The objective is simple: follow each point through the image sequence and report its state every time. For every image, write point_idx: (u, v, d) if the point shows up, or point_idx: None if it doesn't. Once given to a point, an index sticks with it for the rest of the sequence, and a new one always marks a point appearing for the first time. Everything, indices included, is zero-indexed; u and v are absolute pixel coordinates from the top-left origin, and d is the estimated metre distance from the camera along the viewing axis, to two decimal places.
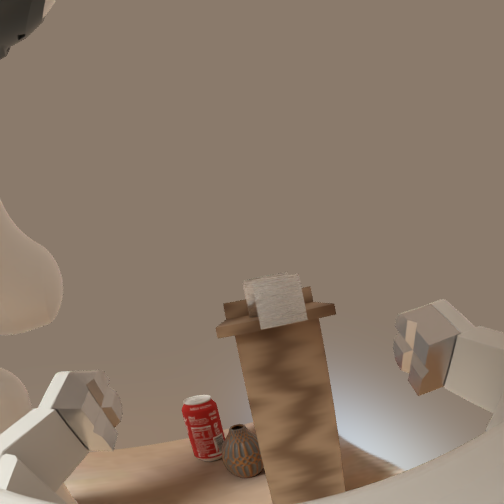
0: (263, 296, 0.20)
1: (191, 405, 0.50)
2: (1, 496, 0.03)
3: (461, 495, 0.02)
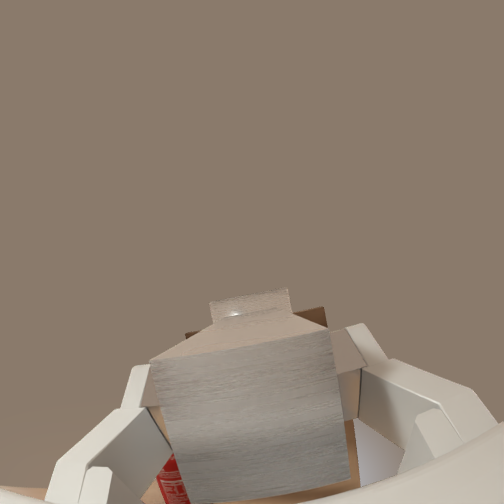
0: (192, 411, 0.05)
1: None
2: (1, 496, 0.03)
3: (461, 495, 0.02)
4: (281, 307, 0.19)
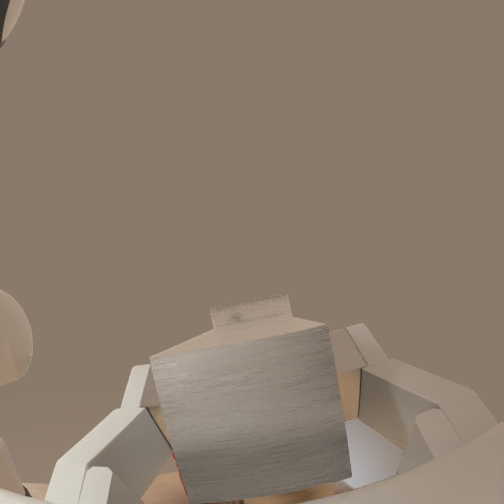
0: (192, 408, 0.05)
1: None
2: (1, 496, 0.03)
3: (461, 495, 0.02)
4: (281, 313, 0.19)
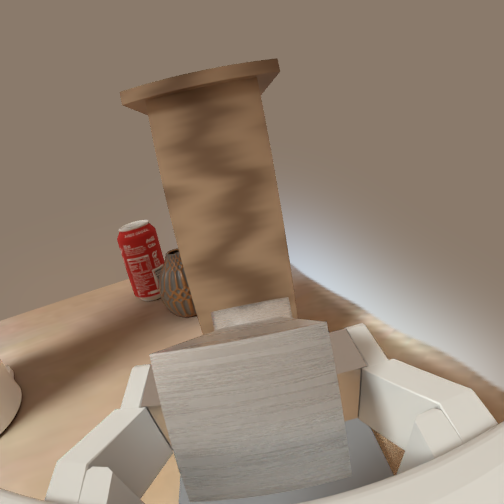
0: (192, 405, 0.05)
1: (126, 231, 0.46)
2: (1, 496, 0.03)
3: (461, 495, 0.02)
4: (282, 316, 0.19)
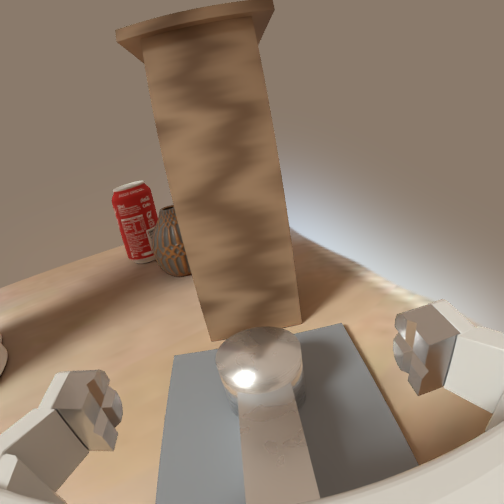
0: None
1: (120, 191, 0.44)
2: (1, 496, 0.03)
3: (461, 495, 0.02)
4: (295, 378, 0.17)
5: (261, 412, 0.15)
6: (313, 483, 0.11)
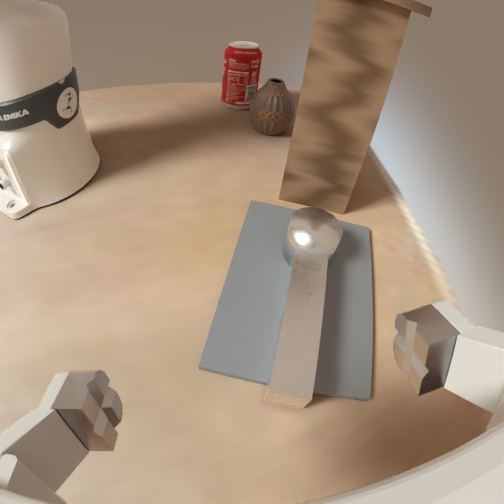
0: (274, 397, 0.21)
1: (236, 48, 0.45)
2: (1, 496, 0.03)
3: (461, 495, 0.02)
4: (331, 251, 0.29)
5: (306, 263, 0.28)
6: (321, 315, 0.24)
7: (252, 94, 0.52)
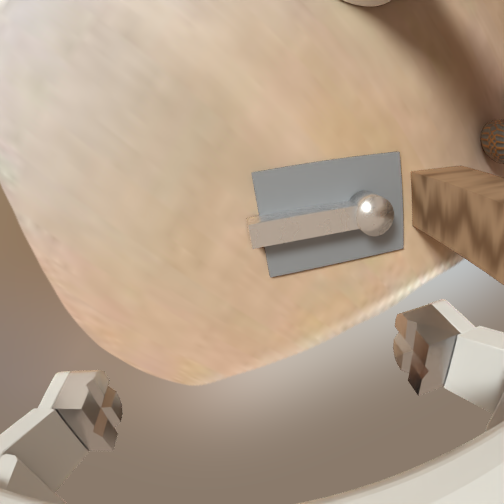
0: (248, 227, 0.39)
1: None
2: (1, 496, 0.03)
3: (461, 495, 0.02)
4: (361, 230, 0.39)
5: (344, 217, 0.38)
6: (308, 237, 0.39)
7: None
